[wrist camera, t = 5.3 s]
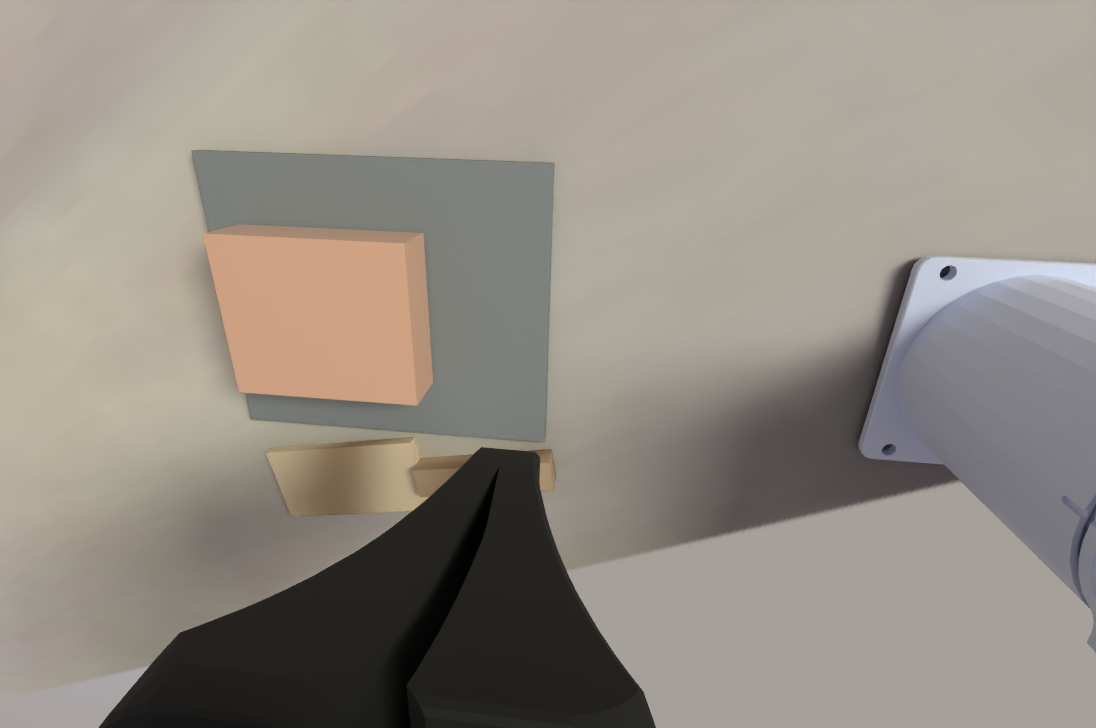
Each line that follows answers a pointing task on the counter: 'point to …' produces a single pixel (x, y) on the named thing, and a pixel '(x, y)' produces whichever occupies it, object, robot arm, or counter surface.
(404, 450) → the wooden cleaver
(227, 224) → the mat
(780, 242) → the counter surface
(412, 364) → the tile
